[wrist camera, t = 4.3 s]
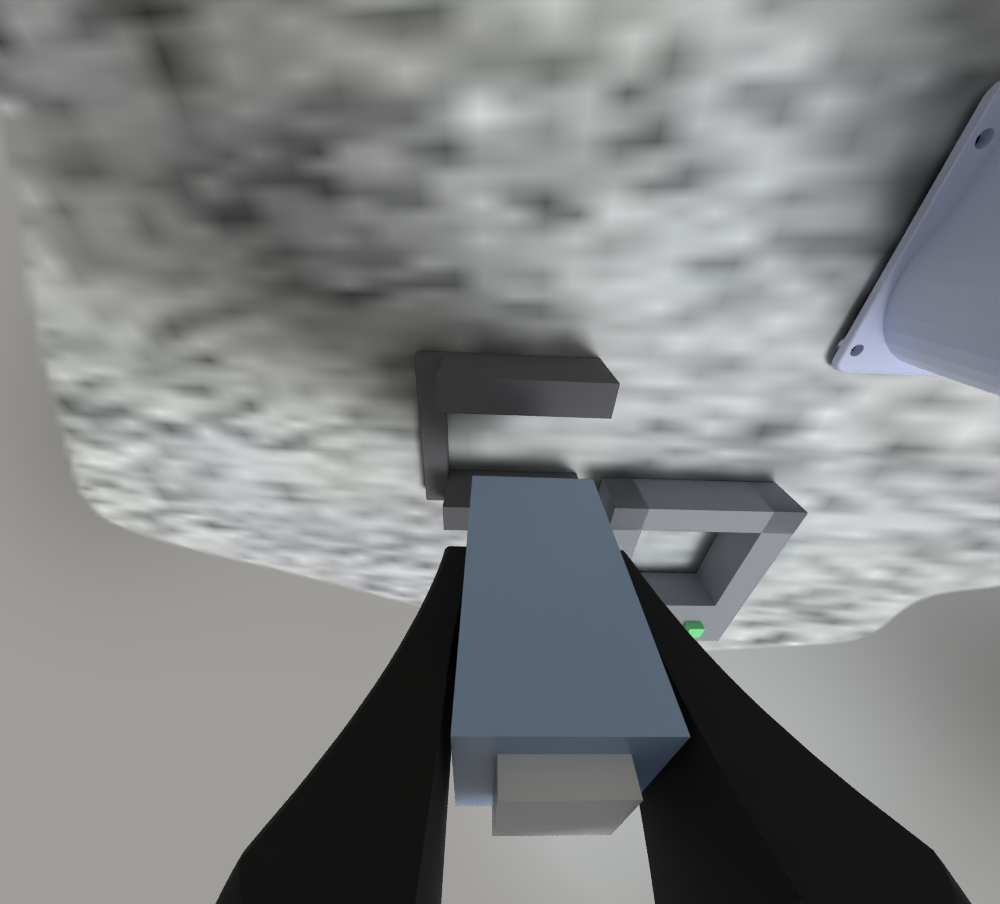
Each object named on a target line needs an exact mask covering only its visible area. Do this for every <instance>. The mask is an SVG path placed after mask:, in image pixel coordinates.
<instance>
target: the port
mask: <svg viewBox="0 0 1000 904" xmlns="http://www.w3.org/2000/svg"><path fill="white" fill-rule="evenodd" d="M598 494H599V496H600V499H601V501H602V504H603V507H604V509H605V512H606V515H607V517H608V520H609V523H610V525H611V528H612V531H613V533H614V536H615V539H616V541H617V544H618V546H619V549H620V550H624V552H625V553H626V554H627V555H628V557H629V558H630V559H631V557H632V555H633V552H634V549H635V546H636V544H637V541H638V538H639V536H640V533H641V530H647V531H693V532H718V534H717V535H716V537H715V539H714V541H713V543H712V545H711V547H710V548H709V550H708V552H707V554H706V556H705V558H704V560H703V561H702V563H701V565H700V567H699V569H698V571H697V573H657V572H640V573H641V574H642V575H643V577H644V578H645V579H646V580H647V582H648V583H649V584H650V586H651V587H652V588H653V590H654V591H655V592H656V593H657V595H658V596H659V597H660V598H661V600H662V601H663V602H664V603H665V605H666V606H667V607H668V608H669V609H670V611H671V612H672V613H673V614H674V616H675V617H676V618H677V619H678V620H679V622H680V623H681V624H682V625H683V626H684V628H685V629H686V630H687V631H688V632H689V633H690V635H691V636H692V637H693V638H694V639H695V640H696V641H718V640H719V639H720V637H721V636H722V634H723V633H724V631H725V630H726V629H727V627H728V626H729V624H730V623H731V621H732V620H733V619H734V617H735V616H736V614H737V613H738V611H739V610H740V609H741V607H742V606H743V604H744V603H745V602H746V600H747V599H748V597H749V596H750V594H751V593H752V592H753V590H754V589H755V587H756V586H757V584H758V583H759V582H760V580H761V579H762V577H763V576H764V574H765V573H766V572H767V570H768V569H769V567H770V566H771V565H772V563H773V562H774V560H775V559H776V557H777V556H778V555H779V553H780V552H781V550H782V549H783V547H784V546H785V545H786V543H787V542H788V540H789V539H790V537H791V536H792V535H793V533H794V532H795V530H796V529H797V528H798V526H799V525H800V523H801V522H802V520H803V519H804V518H805V516H806V515H807V512H806V511H805V510H804V509H803V508H802V507H801V506H800V505H799V504H798V503H797V502H796V501H795V500H793V499H792V498H791V497H790V496H789V495H788V494H787V493H786V492H785V491H784V490H783V489H782V488H781V487H779V486H778V485H777V484H776V483H773V482H737V481H701V480H665V479H629V478H602V480H601V484H600V488H599V492H598Z"/></svg>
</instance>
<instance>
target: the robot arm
mask: <svg viewBox="0 0 1000 904" xmlns="http://www.w3.org/2000/svg"><path fill="white" fill-rule="evenodd" d="M979 135H980V139H979V141H978V143H977V144H976V145H975V142H976V139H977V137H978V136H979ZM855 346H856V347H855ZM854 347H855V349H854V350H853V351H852V352H851V350H852V349H853V348H854ZM832 367H833V368H834V369H836V370H838V371H841V372H853V373H877V374H902V375H926V376H943V377H946V378H949V379H952V380H955V381H958V382H961V383H964V384H966V385H969V386H972V387H975V388H978V389H981V390H984V391H987V392H990V393H992V394H995V395H998V396H1000V81H999V82H997V83H995V84H994V85H993V86H992V87H991V88H990V89H989V90H988V91H987V92H986V94H985V95H984V96H983V98H982V99H981V101H980V103H979V105H978V106H977V108H976V110H975V112H974V113H973V115H972V117H971V119H970V120H969V122H968V124H967V126H966V127H965V129H964V131H963V133H962V134H961V136H960V138H959V140H958V141H957V143H956V145H955V147H954V148H953V150H952V152H951V154H950V155H949V157H948V159H947V161H946V162H945V164H944V166H943V168H942V169H941V171H940V173H939V175H938V176H937V178H936V180H935V182H934V183H933V185H932V187H931V189H930V190H929V192H928V194H927V196H926V197H925V199H924V201H923V203H922V204H921V206H920V208H919V210H918V211H917V213H916V215H915V217H914V218H913V220H912V222H911V224H910V225H909V227H908V229H907V231H906V232H905V234H904V236H903V238H902V239H901V241H900V243H899V244H898V246H897V248H896V250H895V251H894V253H893V255H892V257H891V258H890V260H889V262H888V264H887V265H886V267H885V269H884V271H883V272H882V274H881V276H880V278H879V279H878V281H877V283H876V285H875V286H874V288H873V290H872V292H871V293H870V295H869V297H868V299H867V300H866V302H865V304H864V306H863V307H862V309H861V311H860V313H859V314H858V316H857V318H856V320H855V321H854V323H853V325H852V327H851V328H850V330H849V332H848V334H847V335H846V337H845V339H844V341H843V342H842V344H841V346H840V348H839V349H838V351H837V353H836V355H835V356H834V358H833V360H832ZM620 552H621V554H622V557H623V560H624V562H625V565H626V568H627V570H628V573H629V576H630V578H631V581H632V584H633V586H634V589H635V591H636V594H637V597H638V599H639V602H640V605H641V607H642V610H643V613H644V615H645V618H646V621H647V623H648V626H649V628H650V631H651V634H652V636H653V639H654V642H655V644H656V647H657V650H658V652H659V655H660V658H661V660H662V663H663V666H664V668H665V671H666V673H667V676H668V679H669V681H670V684H671V687H672V689H673V692H674V695H675V697H676V700H677V703H678V705H679V708H680V711H681V713H682V716H683V718H684V721H685V724H686V726H687V729H688V732H689V734H690V738H689V739H688V740H687V741H686V743H685V744H684V745H683V746H682V747H681V748H680V749H679V750H678V752H677V753H676V754H675V755H674V756H673V757H672V758H671V760H670V761H669V762H668V763H667V764H666V765H665V766H664V768H663V769H662V770H661V771H660V772H659V773H658V774H657V775H656V777H655V778H654V779H653V780H652V781H651V782H650V783H649V785H648V786H647V787H646V788H645V789H644V790H643V791H642V793H641V794H642V798H643V801H642V802H641V803H640V804H639V805H640V810H641V817H642V822H643V828H644V835H645V840H646V846H647V853H648V859H649V865H650V872H651V879H652V886H653V892H654V899H655V904H971V903H970V901H969V900H968V898H967V897H966V895H965V894H964V892H963V891H962V890H961V888H960V887H959V885H958V884H957V882H956V881H955V880H954V878H953V877H952V875H951V874H950V872H949V871H948V870H947V868H946V867H945V865H944V864H943V863H942V861H941V860H940V859H939V857H938V856H937V855H936V853H935V852H934V850H932V849H931V848H930V847H928V846H927V845H926V844H925V843H923V842H922V841H921V840H919V839H918V838H917V837H916V836H914V835H913V834H911V833H910V832H909V831H908V830H906V829H905V828H904V827H903V826H901V825H900V824H899V823H897V822H896V821H895V820H894V819H892V818H891V817H890V816H888V815H887V814H886V813H885V812H883V811H882V810H881V809H879V808H878V807H877V806H876V805H874V804H873V803H872V802H870V801H869V800H868V799H866V798H865V797H864V796H862V795H861V794H860V793H859V792H858V791H856V790H855V789H854V788H852V787H851V786H850V785H849V784H848V783H846V782H845V781H844V780H843V779H842V778H841V777H839V776H838V775H837V774H836V773H834V772H833V771H832V770H831V769H830V768H829V767H827V766H826V765H825V764H824V763H823V762H821V761H820V760H819V759H818V758H817V757H815V756H814V755H813V754H812V753H811V752H809V750H807V749H806V748H805V747H804V746H803V745H802V744H801V743H800V742H799V741H797V740H796V739H795V738H794V737H793V736H792V735H791V734H790V733H788V732H787V731H786V730H785V729H784V728H783V727H782V726H781V725H779V724H778V723H777V722H776V721H775V720H774V719H773V718H772V717H771V716H770V715H768V714H767V713H766V712H765V711H764V710H763V709H762V708H761V707H760V706H759V705H758V704H757V703H755V701H754V700H753V699H752V698H750V697H749V696H748V695H747V694H746V693H745V692H744V691H743V690H742V689H741V688H740V687H739V686H738V685H737V684H736V683H735V682H734V681H733V680H732V679H731V678H730V677H729V676H728V675H727V674H726V673H725V672H724V671H723V670H722V669H721V667H720V666H719V665H717V663H716V662H715V661H714V660H713V659H712V658H711V657H710V656H709V655H708V654H707V652H706V651H705V650H704V649H703V648H702V647H701V646H700V645H699V644H698V642H697V641H696V640H695V639H694V638H693V637H692V636H691V635H690V633H689V632H688V631H687V630H686V629H685V628H684V626H683V625H682V624H681V623H680V622H679V620H678V619H677V618H676V617H675V616H674V614H673V613H672V612H671V611H670V609H669V608H668V607H667V606H666V605H665V603H664V602H663V601H662V600H661V598H660V597H659V596H658V595H657V593H656V592H655V591H654V590H653V588H652V587H651V586H650V584H649V583H648V582H647V580H646V579H645V578H644V577H643V575H642V574H641V573H640V571H639V570H638V569H637V567H636V566H635V565H634V563H633V562H632V561H631V559H630V558H629V557H628V555H627V554H626V553H625V552H624V550H620ZM465 559H466V547H459V546H449V547H447V548H446V549H445V551H444V555H443V558H442V561H441V563H440V566H439V569H438V571H437V574H436V576H435V578H434V581H433V583H432V585H431V587H430V590H429V592H428V594H427V596H426V598H425V600H424V602H423V604H422V606H421V608H420V610H419V612H418V614H417V616H416V618H415V619H414V621H413V623H412V625H411V626H410V628H409V630H408V632H407V634H406V635H405V637H404V639H403V641H402V642H401V644H400V646H399V648H398V649H397V651H396V652H395V654H394V656H393V658H392V659H391V661H390V662H389V664H388V666H387V667H386V669H385V670H384V672H383V673H382V675H381V676H380V678H379V679H378V681H377V683H376V684H375V685H374V687H373V688H372V690H371V691H370V693H369V694H368V695H367V697H366V698H365V700H364V701H363V703H362V704H361V705H360V707H359V708H358V710H357V711H356V713H355V714H354V715H353V717H352V718H351V720H350V721H349V722H348V724H347V725H346V727H345V728H344V729H343V730H342V732H341V733H340V734H339V736H338V737H337V738H336V740H335V741H334V742H333V743H332V745H331V746H330V747H329V749H328V750H327V751H326V752H325V754H324V755H323V756H322V758H321V759H320V760H319V762H318V763H317V764H316V765H315V767H314V768H313V769H312V770H311V772H310V773H309V774H308V776H307V777H306V778H305V779H304V780H303V782H302V783H301V784H300V785H299V787H298V788H297V789H296V790H295V792H294V793H293V794H292V795H291V796H290V797H289V799H288V800H287V801H286V802H285V803H284V805H283V806H282V807H281V808H280V809H279V810H278V812H277V813H276V814H275V815H274V816H273V817H272V819H271V820H270V821H269V822H268V823H267V824H266V826H265V827H264V828H263V829H262V830H261V832H260V833H259V834H258V835H257V836H256V837H255V839H254V840H253V841H252V842H251V843H250V845H249V846H248V847H247V848H246V849H245V851H244V852H243V854H242V855H241V857H240V859H239V860H238V862H237V864H236V866H235V867H234V869H233V871H232V873H231V875H230V877H229V879H228V880H227V882H226V884H225V886H224V888H223V890H222V892H221V894H220V896H219V898H218V900H217V902H216V904H441V897H442V882H443V865H444V850H445V835H446V819H447V805H448V790H449V776H450V762H451V725H452V713H453V701H454V690H455V678H456V666H457V654H458V642H459V630H460V618H461V606H462V594H463V583H464V571H465Z"/></svg>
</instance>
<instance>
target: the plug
mask: <svg viewBox="0 0 1000 904" xmlns="http://www.w3.org/2000/svg"><path fill="white" fill-rule="evenodd" d="M689 738H690V734H689V732H688V729H687V726H686V724H685V721H684V718H683V716H682V713H681V711H680V708H679V705H678V703H677V700H676V697H675V695H674V692H673V689H672V687H671V684H670V681H669V679H668V676H667V673H666V671H665V668H664V666H663V663H662V660H661V658H660V655H659V652H658V650H657V647H656V644H655V642H654V639H653V636H652V634H651V631H650V628H649V626H648V623H647V621H646V618H645V615H644V613H643V610H642V607H641V605H640V602H639V599H638V597H637V594H636V591H635V589H634V586H633V584H632V581H631V578H630V576H629V573H628V570H627V568H626V565H625V562H624V560H623V557H622V554H621V552H620V549H619V546H618V544H617V541H616V539H615V536H614V533H613V531H612V528H611V525H610V523H609V520H608V517H607V515H606V512H605V509H604V507H603V504H602V501H601V499H600V496H599V494H598V491H597V488H596V486H595V483H594V480H593V479H566V478H532V477H499V476H472V488H471V499H470V511H469V523H468V535H467V547H466V559H465V571H464V583H463V594H462V606H461V618H460V630H459V642H458V654H457V666H456V678H455V690H454V701H453V713H452V725H451V749H452V763H453V776H454V790H455V803H456V806H492V835H493V836H534V835H535V836H544V835H611V834H612V833H613V832H614V831H615V830H616V829H617V828H618V827H619V826H620V825H621V824H622V823H623V821H624V820H625V819H626V818H627V817H628V816H629V815H630V814H631V813H632V812H633V811H634V810H635V808H636V807H637V806H638V805H639V804H640V803H641V802H642V801H643V798H642V794H641V793H642V791H643V790H644V789H645V788H646V787H647V786H648V785H649V783H650V782H651V781H652V780H653V779H654V778H655V777H656V775H657V774H658V773H659V772H660V771H661V770H662V769H663V768H664V766H665V765H666V764H667V763H668V762H669V761H670V760H671V758H672V757H673V756H674V755H675V754H676V753H677V752H678V750H679V749H680V748H681V747H682V746H683V745H684V744H685V743H686V741H687V740H688V739H689Z"/></svg>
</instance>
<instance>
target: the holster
mask: <svg viewBox="0 0 1000 904" xmlns="http://www.w3.org/2000/svg"><path fill="white" fill-rule="evenodd" d="M414 360H415V371H416V383H417V394H418V406H419V418H420V429H421V441H422V452H423V464H424V476H425V487H426V499H427V500H444V503H443V521H444V530H468V523H469V511H470V499H471V488H472V476H499V477H532V478H566V479H578V477H577V474H576V473H544V472H509V471H473V470H449V450H448V424H447V413H464V414H493V415H522V416H551V417H580V418H609V419H611V417H612V413H613V409H614V405H615V401H616V397H617V393H618V389H619V385H620V383H619V382H618V381H617V380H616V378H615V377H614V376H613V374H612V373H611V372H610V371H609V369H608V368H607V367H606V365H605V364H604V363H603V362H602V360H601V359H600V358H583V357H559V356H535V355H511V354H487V353H462V352H438V351H417V352H416V354H415V356H414Z"/></svg>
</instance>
